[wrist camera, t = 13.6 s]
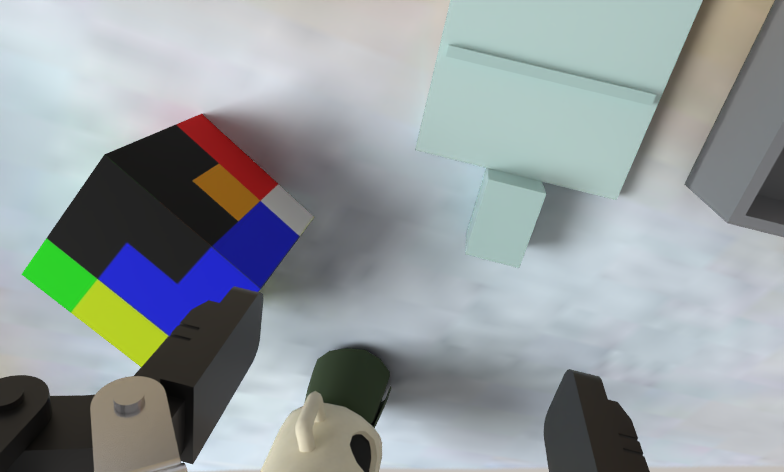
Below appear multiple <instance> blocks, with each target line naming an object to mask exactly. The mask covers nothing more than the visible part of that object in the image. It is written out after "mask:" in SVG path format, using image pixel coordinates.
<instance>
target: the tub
mask: <svg viewBox="0 0 784 472" xmlns="http://www.w3.org/2000/svg"><path fill="white" fill-rule="evenodd" d="M685 185H686V186H687V187H688V188H689V189H690V190H691V191H692V192H694V193H695V194H696V195H697V196H698V197H699V198H700V199H701V200H702V201H704V202H705V203H706V204H707V205H708V206H709V207H710V208H711V209H712V210H713V211H715V212H716V213H717V214H718V215H719V216H720V217H721V218H722V219H723V220H724V221H726V222H727V223H729V224H733V225H737V226H741V227H745V228H749V229H753V230H757V231H761V232H765V233H769V234H773V235H777V236H781V237H784V0H775V1H774V3H773V5H772V7H771V9H770V11H769V13H768V15H767V18H766V20H765V22H764V24H763V26H762V28H761V30H760V32H759V34H758V36H757V38H756V40H755V42H754V44H753V46H752V48H751V50H750V52H749V54H748V56H747V58H746V60H745V62H744V64H743V66H742V68H741V70H740V72H739V74H738V76H737V79H736V81H735V83H734V85H733V87H732V89H731V91H730V93H729V95H728V97H727V99H726V101H725V103H724V105H723V107H722V109H721V111H720V113H719V115H718V117H717V119H716V121H715V123H714V125H713V127H712V129H711V131H710V133H709V135H708V137H707V140H706V142H705V144H704V146H703V148H702V150H701V152H700V154H699V156H698V158H697V160H696V162H695V164H694V166H693V168H692V170H691V172H690V174H689V176H688V178H687V180H686V182H685Z"/></svg>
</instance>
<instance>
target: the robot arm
mask: <svg viewBox="0 0 784 472" xmlns="http://www.w3.org/2000/svg"><path fill="white" fill-rule="evenodd" d="M262 308H263V294H262V293H260V292H256V291H251V290H247V289H243V288H239V287H233V288H231V290H230V291H229V292H228V293H227V295H226V296H225V297H224V298H223V300H222V301H221V302H220V303H218V302H214V301H210V300H208V301H206V302H205V303H203V304H201V305H199V306H197V307H195V308H193V309H192V310H191V311H190V312H189V313H188V314H187V315H186V316H185V317H184V319H183V320H182V321H181V322H180V325H179V326H177V327H176V328H175V329H174V330H173V331H172V333H171V335H170V336H168V337H167V338H166V339H165V341H164V342H163V343H162V344H161V345H160V346H159V348H158V349H157V350H156V351H155V352H154V353H153V354H152V356H151V357H150V358H149V359H148V360H147V361H146V363H145V364H144V365H143V366H142V367H141V368H140V369H139V371H138V372H137V373H136V374H135V375H134V376H131V377H125V378H121V379H118V380H115V381H113V382H111V383H109V384H107V385H106V386H104V387H103V388H101V389H100V390H99V391H98V392H97V393H96V395H85V396H50V394H49V389H48V386H47V385H46V383H45V382H43V381H42V380H40V379H38V378H36V377H32V376H26V375H17V376H9V377H4V378H1V379H0V472H187V468H186V465H185V463H181V461H183V462H187V463H190V464H193V463H194V461H195V460H196V458H197V456H198V455H199V453H200V451H201V450H202V448H203V446H204V444H205V443H206V441H207V439H208V438H209V436H210V434H211V432H212V431H213V429H214V427H215V426H216V424H217V422H218V421H219V419H220V417H221V415H222V414H223V412H224V410H225V409H226V407H227V405H228V403H229V402H230V400H231V398H232V397H233V395H234V393H235V392H236V390H237V388H238V386H239V385H240V383H241V381H242V380H243V378H244V376H245V374H246V373H247V371H248V369H249V368H250V366H251V364H252V362H253V360H254V358H255V356H256V353H257V350H258V346H259V341H260V331H261V320H262ZM637 439H638V437H637V434H636V431H635V429H634V426H633V423H632V420H631V419H630V417H629V416H628V415H627V414H626V412H625V411H624V410H623V408H622V407H621V406H620V405H619V403H618V402H615V401H611V400H608V399H607V396H606V392H605V389H604V386H603V383H602V380H601V378H600V377H599V376H595V375H591V374H587V373H583V372H578V371H574V370H570V369H569V370H567V371H566V373H565V374H564V376H563V379H562V381H561V383H560V385H559V387H558V390H557V392H556V394H555V396H554V398H553V401H552V403H551V405H550V407H549V410H548V412H547V415H546V418H545V424H544V441H545V447H546V454H547V461H548V468H549V472H650V471H649V468H648V466H647V463H646V460H645V457H643V451H642V449H641V446H640V443H639V442H638V441H637Z"/></svg>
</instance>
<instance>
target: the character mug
mask: <svg viewBox="0 0 784 472" xmlns="http://www.w3.org/2000/svg"><path fill="white" fill-rule="evenodd" d="M389 377H390V372H389V370H388V369H387V368H386V366H385V365H384V364H383V362H382V361H381V359H379V358H377V357H376V356H374V355H373V354H371V353H369V352H368V351H366V350H361V349H350V348H344V349H339V350H333V351H329V352H328V353H326V354H325V355H323V356H322V357H320V358H319V359H318V360H317V362H316V365H315V367H314V370H313V373H312V376H311V379H310V383H309V386H308V390H307V394H306V399H305V403H304V406H302V407H300V408H298V409H296V410H294V411H292V412H291V413H290V415H289V416H288V417H287V419H286V420H285V422H284V423H283V425H282V426H281V428H280V430H279V432H278V434H277V436H276V438H275V440H274V443H273V445H272V447H271V449H270V451H269V454H268V456H267V458H266V460H265V462H264V464H263V467H262V469H261V471H260V472H379V469H380V464H381V459H382V441H381V438H380V435H379V434H378V433H377V431H376V430H375V429H374V428H375V426H376V424H377V422H378V420H379V418H380V415H381V413H382V411H383V409H384V407H385V404H386V402H387V399H388V396H389V393H390V391H391V386H390V389H389V392H388V394H387V397H386V399H385V400H384V401H382V397H383V395H384V392H385V389H386V386H387V383H388V380H389ZM381 401H382V402H381Z"/></svg>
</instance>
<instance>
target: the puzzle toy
mask: <svg viewBox="0 0 784 472" xmlns="http://www.w3.org/2000/svg"><path fill="white" fill-rule="evenodd" d="M313 218H314V216H313V215H312V214H310V213H309V212H308V211H307V210H306V209H305V208H304V207H303V206H302V205H301V204H300V203H298V202H297V201H296V200H295V199H294V198H293V197H292V196H291V195H290V194H289V193H288V192H286V191H285V190H284V189H283V188H282V187H281V186H280V185H279V184H278V183H277V182H276V181H274V180H273V179H272V178H271V177H270V176H269V175H268V174H267V173H266V172H265V171H264V170H262V169H261V168H260V167H259V166H258V165H257V164H256V163H255V162H254V161H253V160H252V159H251V158H249V157H248V156H247V155H246V154H245V153H244V152H243V151H242V150H241V149H240V148H239V147H237V146H236V145H235V144H234V143H233V142H232V141H231V140H230V139H229V138H228V137H227V136H225V135H224V134H223V133H222V132H221V131H220V130H219V129H218V128H217V127H216V126H215V125H213V124H212V123H211V122H210V121H209V120H208V119H207V118H206V117H205V116H204V115H203V114H200V115H198V116H195V117H193V118H190V119H188V120H186V121H183V122H181V123H179V124H176V125H174V126H171V127H169V128H167V129H164V130H162V131H160V132H157V133H155V134H152V135H150V136H148V137H145V138H143V139H140V140H138V141H136V142H133V143H131V144H129V145H126V146H124V147H121V148H119V149H117V150H114V151H112V152H110V153H107V154H105V155H104V156H103V158H102V159H101V160H100V162H99V163H98V165H97V166H96V168H95V169H94V171H93V172H92V173H91V175H90V176H89V178H88V179H87V181H86V182H85V184H84V185H83V186H82V188H81V189H80V191H79V192H78V194H77V195H76V197H75V198H74V199H73V201H72V202H71V204H70V205H69V207H68V208H67V210H66V211H65V212H64V214H63V215H62V217H61V218H60V220H59V221H58V223H57V224H56V225H55V227H54V228H53V230H52V231H51V233H50V234H49V236H48V237H47V238H46V240H45V241H44V243H43V244H42V246H41V247H40V249H39V250H38V251H37V253H36V254H35V256H34V257H33V259H32V260H31V262H30V263H29V264H28V266H27V267H26V269H25V270H24V272H23V273H22V275H23V276H24V277H26V278H27V279H28V280H29V281H31V282H32V283H33V284H35V285H36V286H37V287H38V288H40V289H41V290H42V291H44V292H45V293H46V294H48V295H49V296H50V297H51V298H53V299H54V300H55V301H57V302H58V303H59V304H60V305H62V306H63V307H64V308H66V309H67V310H68V311H69V312H71V313H72V314H73V315H75V316H76V317H77V318H78V319H80V320H81V321H82V322H84V323H85V324H86V325H87V326H89V327H90V328H91V329H93V330H94V331H95V332H96V333H98V334H99V335H100V336H102V337H103V338H104V339H105V340H107V341H108V342H109V343H111V344H112V345H113V346H114V347H116V348H117V349H118V350H120V351H121V352H122V353H124V354H125V355H126V356H127V357H129V358H130V359H131V360H133V361H134V362H135V363H136V364H138V365H139V366H140V367H142V366H143V365H144V364H145V363H146V361H147V360H148V359H149V358H150V357H151V356H152V354H153V353H154V352H155V351H156V350H157V349H158V348H159V346H160V345H161V344H162V343H163V342H164V341H165V339H166V338H167V337H168V336H170V335H171V333H172V331H173V330H174V329H175V328H176V327H177V326H179V325H180V322H181V321H182V320H183V319H184V317H185V316H186V315H187V314H188V313H189V312H190V311H191V310H192V309H193V308H195V307H197V306H199V305H201V304H203V303H205V302H206V301H208V300H210V301H214V302H218V303H220V302H221V301H222V300H223V298H224V297H225V296H226V295H227V293H228V292H229V291H230V290H231V288H233V287H239V288H243V289H247V290H251V291H256V292H258V291H259V290H260V289H261V288H262V287H263V285H264V284H265V283H266V281H267V280H268V279H269V277H270V276H271V275H272V273H273V272H274V271H275V269H276V268H277V267H278V265H279V264H280V263H281V261H282V260H283V259H284V257H285V256H286V255H287V253H288V252H289V251H290V249H291V248H292V246H293V245H294V244H295V242H296V241H297V240H298V238H299V237H300V236H301V234H302V233H303V232H304V230H305V229H306V228H307V226H308V225H309V224H310V222H311V221H312V220H313Z"/></svg>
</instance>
